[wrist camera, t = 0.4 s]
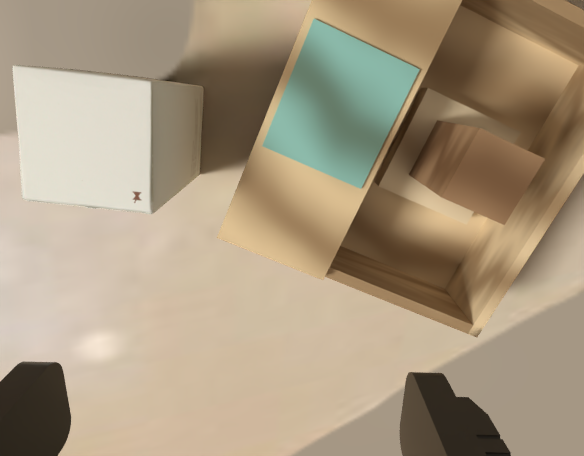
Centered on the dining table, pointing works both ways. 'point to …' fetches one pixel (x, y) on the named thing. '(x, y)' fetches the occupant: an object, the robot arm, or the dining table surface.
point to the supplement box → (105, 138)
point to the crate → (412, 147)
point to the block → (475, 169)
